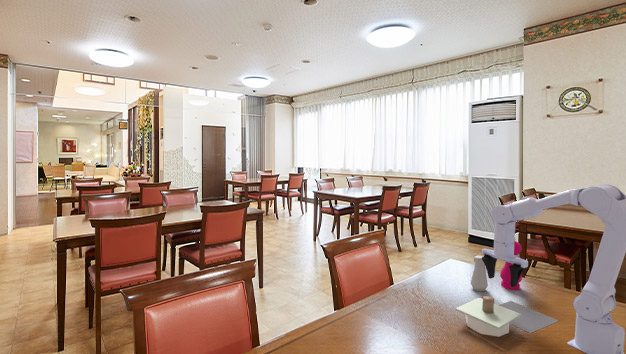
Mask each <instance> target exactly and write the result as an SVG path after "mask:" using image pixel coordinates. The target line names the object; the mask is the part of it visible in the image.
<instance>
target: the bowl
mask: <svg viewBox="0 0 626 354" xmlns="http://www.w3.org/2000/svg"><path fill="white" fill-rule="evenodd" d="M464 317H465V322H466V326H467V327H469V328H470V329H472V330H473V331H475V332H477V333H479V334H480V335H484V336H485V335H487V336H491V337H502V336H504V335H506V334H509V333H510V323H509V324H507V325H505V326H504V327H502V328H500V329H497V328H494V327H492V326H490V325H488V324H485V323H483V322H481V321H479V320H476V319H474V318H472V317H470V316H468V315H465V316H464Z"/></svg>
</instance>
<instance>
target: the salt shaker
mask: <svg viewBox="0 0 626 354" xmlns="http://www.w3.org/2000/svg"><path fill="white" fill-rule="evenodd" d="M482 257H484V255H474V256H473V262H474V263H475V264H474V267H473V271H472V274H471V275H472V276H471V279H470V285H471V287H472V288H471V289H473V291H477V292H484V291H486V290H487V288H488V286H489V285H488V277H487V269H486V266H485V264H484V262H483V261H482Z"/></svg>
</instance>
